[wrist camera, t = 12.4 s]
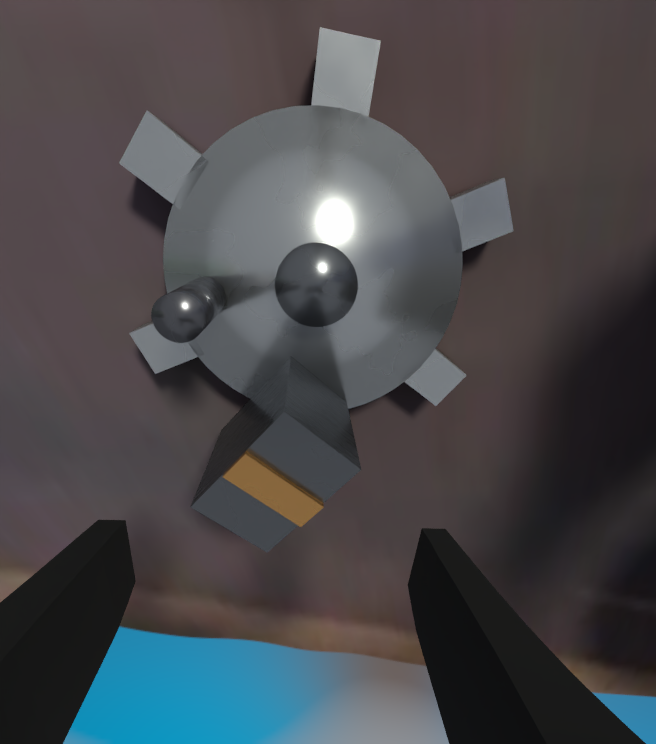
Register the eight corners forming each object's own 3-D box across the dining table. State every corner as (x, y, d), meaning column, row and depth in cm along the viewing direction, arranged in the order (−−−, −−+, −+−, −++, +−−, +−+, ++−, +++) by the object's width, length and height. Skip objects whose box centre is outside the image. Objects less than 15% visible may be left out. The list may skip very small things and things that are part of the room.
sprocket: (364, -79, 12) (399, -257, 7) (553, 314, 17) (637, 346, 13) (38, 238, 15) (-75, 246, 10) (287, 485, 20) (282, 557, 16)
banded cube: (346, 401, 17) (362, 473, 12) (277, 468, 18) (266, 557, 13) (290, 355, 16) (283, 414, 11) (221, 429, 17) (188, 511, 12)
